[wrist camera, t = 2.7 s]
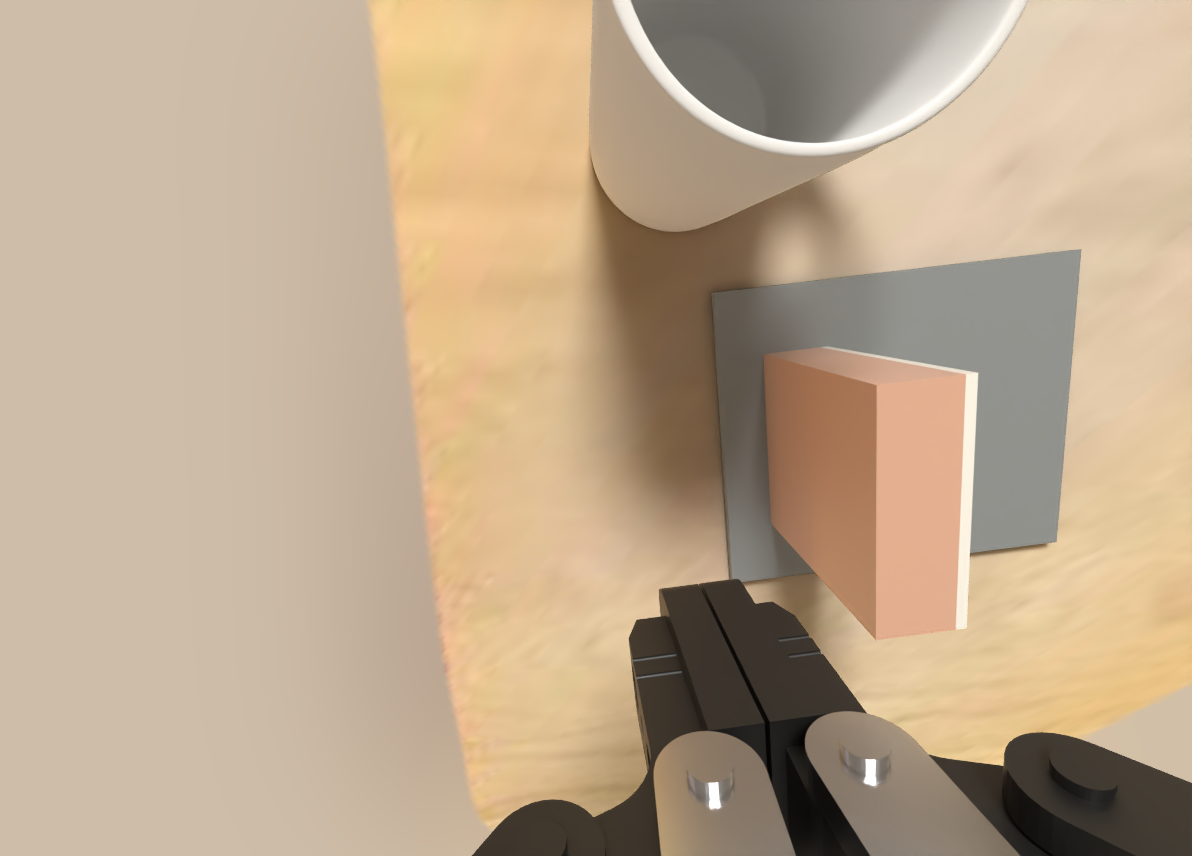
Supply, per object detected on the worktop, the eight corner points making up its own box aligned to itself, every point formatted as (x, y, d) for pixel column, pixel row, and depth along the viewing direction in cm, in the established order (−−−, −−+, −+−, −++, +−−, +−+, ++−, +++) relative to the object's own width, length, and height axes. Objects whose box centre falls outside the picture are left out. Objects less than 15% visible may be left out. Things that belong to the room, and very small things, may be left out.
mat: (1071, 250, 21) (1081, 249, 21) (1048, 538, 24) (1056, 541, 23) (711, 293, 21) (714, 292, 20) (729, 578, 24) (732, 583, 23)
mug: (623, 269, 20) (693, 227, 9) (550, 83, 19) (517, -264, 7) (878, 158, 20) (1309, -43, 8) (823, -42, 18) (1257, -630, 7)
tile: (827, 346, 21) (978, 372, 13) (830, 515, 23) (966, 628, 15) (763, 353, 21) (876, 385, 13) (770, 523, 23) (875, 639, 15)
